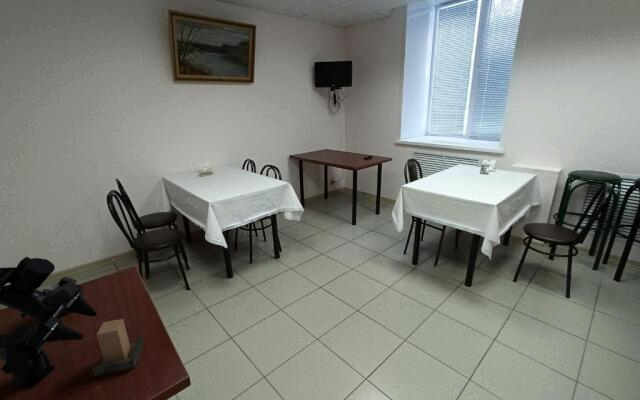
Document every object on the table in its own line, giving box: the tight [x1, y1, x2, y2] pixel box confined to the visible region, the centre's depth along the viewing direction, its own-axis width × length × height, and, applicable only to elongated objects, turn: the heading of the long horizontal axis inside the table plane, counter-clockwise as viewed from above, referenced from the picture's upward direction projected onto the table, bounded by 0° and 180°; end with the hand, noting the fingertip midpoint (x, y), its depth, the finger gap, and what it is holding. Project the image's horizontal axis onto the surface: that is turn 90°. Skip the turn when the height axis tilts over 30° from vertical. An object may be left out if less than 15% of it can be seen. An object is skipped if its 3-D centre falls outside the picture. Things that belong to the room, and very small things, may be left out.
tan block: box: [96, 318, 131, 363], centre depth 86 cm, size 5×5×11 cm
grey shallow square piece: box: [91, 334, 144, 378], centre depth 87 cm, size 10×10×3 cm
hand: (89, 325), depth 82 cm, fingers open, 9 cm apart
